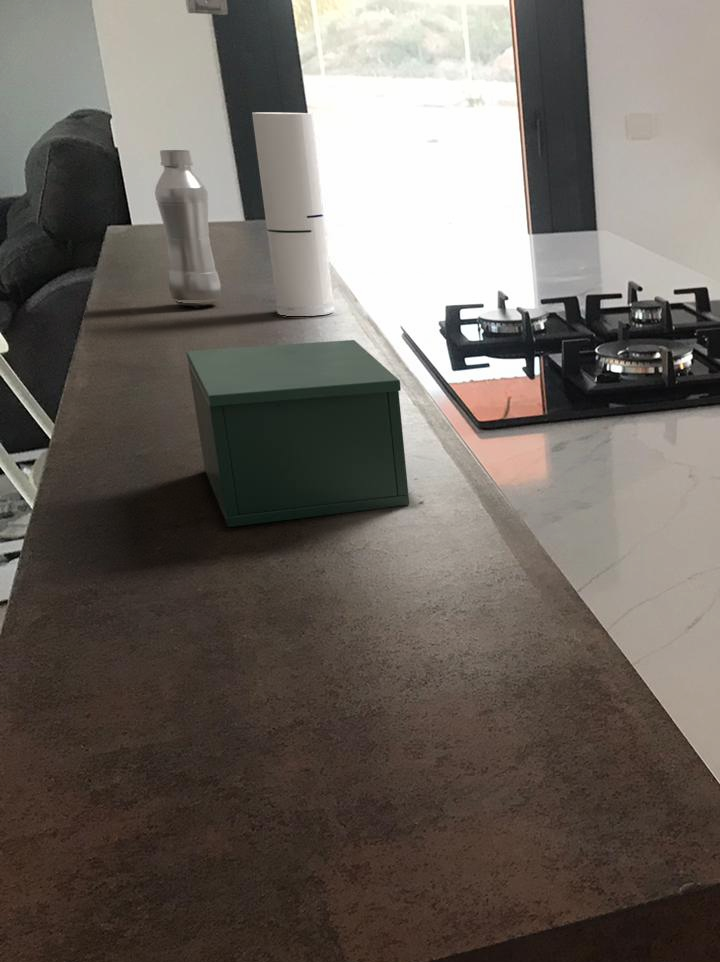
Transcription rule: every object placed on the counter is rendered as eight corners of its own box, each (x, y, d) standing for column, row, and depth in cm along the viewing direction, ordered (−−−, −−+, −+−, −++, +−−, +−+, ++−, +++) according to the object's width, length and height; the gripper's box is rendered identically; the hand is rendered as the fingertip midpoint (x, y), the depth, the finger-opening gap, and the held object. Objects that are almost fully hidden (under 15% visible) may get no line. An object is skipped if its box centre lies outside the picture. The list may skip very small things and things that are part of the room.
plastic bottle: (215, 300, 178) (193, 149, 171) (230, 307, 174) (208, 151, 166) (165, 304, 175) (141, 149, 167) (180, 311, 170) (155, 152, 162)
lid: (401, 391, 92) (400, 379, 91) (210, 407, 86) (208, 395, 86) (355, 349, 105) (354, 339, 105) (187, 361, 99) (186, 350, 99)
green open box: (409, 505, 96) (398, 388, 92) (228, 527, 90) (209, 404, 87) (366, 453, 108) (355, 350, 105) (205, 471, 103) (188, 361, 99)
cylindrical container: (345, 312, 172) (324, 114, 163) (302, 319, 167) (277, 114, 157) (309, 306, 176) (286, 112, 166) (266, 313, 170) (239, 112, 161)
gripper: (26, -207, 92) (63, 6, 97) (324, -174, 101) (343, 18, 106) (27, -192, 97) (62, 9, 102) (310, -163, 106) (329, 20, 111)
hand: (207, 14), depth 104 cm, fingers closed
